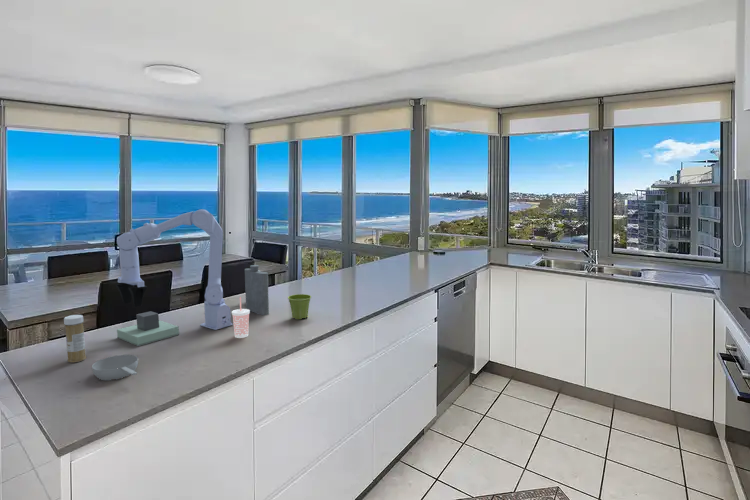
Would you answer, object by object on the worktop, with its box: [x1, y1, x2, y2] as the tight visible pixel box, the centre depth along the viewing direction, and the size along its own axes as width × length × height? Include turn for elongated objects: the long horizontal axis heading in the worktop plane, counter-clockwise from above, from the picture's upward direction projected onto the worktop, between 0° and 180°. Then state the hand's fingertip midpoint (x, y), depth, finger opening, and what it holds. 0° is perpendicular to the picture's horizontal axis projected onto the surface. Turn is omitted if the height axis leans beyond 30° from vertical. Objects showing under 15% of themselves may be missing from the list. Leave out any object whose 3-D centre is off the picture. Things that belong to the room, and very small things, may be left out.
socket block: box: [116, 319, 180, 347], centre depth 142 cm, size 14×14×3 cm
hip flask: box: [244, 264, 270, 316], centre depth 174 cm, size 16×4×20 cm, turn 46°
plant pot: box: [287, 293, 312, 320], centre depth 166 cm, size 9×9×9 cm
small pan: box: [91, 354, 139, 381], centre depth 110 cm, size 11×18×4 cm, turn 52°
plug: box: [136, 310, 160, 331], centre depth 142 cm, size 5×5×7 cm
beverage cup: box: [231, 296, 251, 339], centre depth 143 cm, size 6×6×14 cm
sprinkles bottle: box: [63, 314, 87, 363], centre depth 120 cm, size 5×5×14 cm
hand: (132, 304), depth 144 cm, fingers open, 7 cm apart
